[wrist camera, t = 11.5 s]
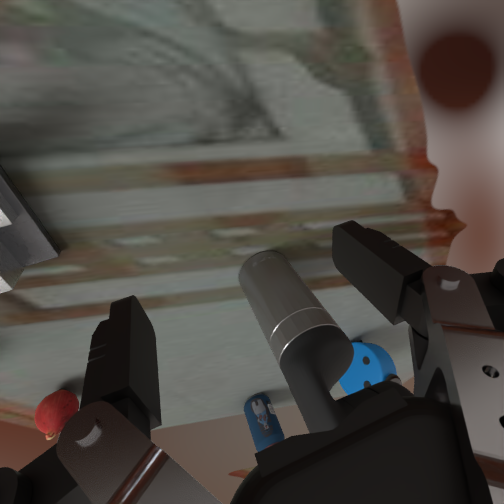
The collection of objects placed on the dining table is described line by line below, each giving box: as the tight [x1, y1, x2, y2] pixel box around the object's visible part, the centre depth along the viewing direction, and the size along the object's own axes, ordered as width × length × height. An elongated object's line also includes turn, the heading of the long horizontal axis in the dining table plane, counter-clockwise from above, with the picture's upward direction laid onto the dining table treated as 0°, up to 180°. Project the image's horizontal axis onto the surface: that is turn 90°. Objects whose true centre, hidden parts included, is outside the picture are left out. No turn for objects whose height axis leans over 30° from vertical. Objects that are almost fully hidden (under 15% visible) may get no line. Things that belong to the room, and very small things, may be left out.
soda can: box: [244, 393, 284, 452], centre depth 66 cm, size 7×7×12 cm
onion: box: [35, 389, 79, 440], centre depth 45 cm, size 6×6×8 cm
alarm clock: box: [339, 340, 402, 395], centre depth 67 cm, size 13×6×15 cm, turn 154°
